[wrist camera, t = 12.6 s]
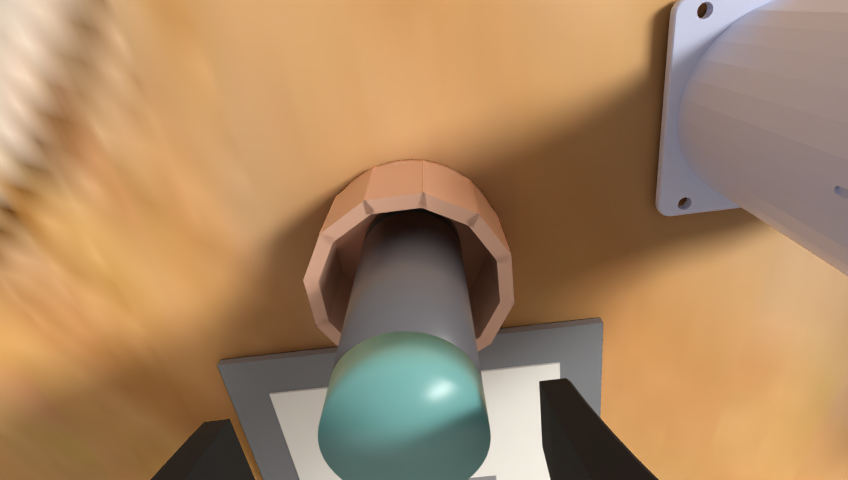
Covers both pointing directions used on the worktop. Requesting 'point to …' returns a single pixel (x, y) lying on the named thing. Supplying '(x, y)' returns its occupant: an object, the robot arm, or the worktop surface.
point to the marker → (407, 360)
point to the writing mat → (502, 381)
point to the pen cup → (402, 191)
